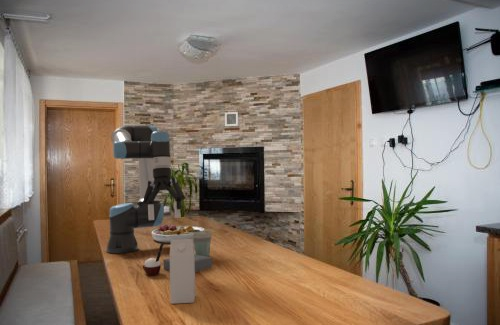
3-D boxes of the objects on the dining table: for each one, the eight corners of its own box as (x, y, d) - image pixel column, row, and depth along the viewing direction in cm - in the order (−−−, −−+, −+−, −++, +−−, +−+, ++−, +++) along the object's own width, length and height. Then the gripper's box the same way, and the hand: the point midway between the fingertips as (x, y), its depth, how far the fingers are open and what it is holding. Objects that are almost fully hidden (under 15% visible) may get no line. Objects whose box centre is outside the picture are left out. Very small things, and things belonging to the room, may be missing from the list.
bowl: (215, 236, 228) (214, 223, 228) (180, 246, 202) (179, 231, 202) (177, 232, 244) (177, 220, 244) (140, 241, 218) (140, 227, 218)
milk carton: (173, 296, 125) (171, 237, 125) (195, 295, 126) (193, 237, 126) (170, 304, 118) (169, 242, 118) (194, 303, 119) (192, 241, 119)
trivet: (163, 269, 158) (163, 258, 158) (190, 262, 168) (190, 252, 168) (184, 275, 149) (184, 264, 149) (211, 267, 159) (211, 257, 159)
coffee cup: (208, 261, 169) (208, 234, 169) (190, 261, 170) (189, 233, 170) (214, 256, 177) (213, 230, 177) (196, 256, 179) (196, 230, 179)
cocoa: (140, 275, 152) (138, 244, 152) (154, 271, 156) (152, 241, 156) (152, 278, 145) (150, 247, 145) (167, 274, 150) (164, 243, 150)
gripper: (132, 171, 164) (134, 221, 161) (180, 163, 153) (183, 217, 150) (144, 172, 170) (147, 220, 168) (191, 165, 160) (194, 216, 157)
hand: (164, 219), depth 159 cm, fingers open, 13 cm apart
